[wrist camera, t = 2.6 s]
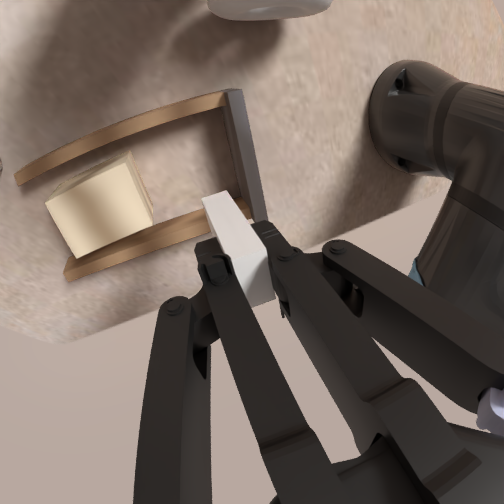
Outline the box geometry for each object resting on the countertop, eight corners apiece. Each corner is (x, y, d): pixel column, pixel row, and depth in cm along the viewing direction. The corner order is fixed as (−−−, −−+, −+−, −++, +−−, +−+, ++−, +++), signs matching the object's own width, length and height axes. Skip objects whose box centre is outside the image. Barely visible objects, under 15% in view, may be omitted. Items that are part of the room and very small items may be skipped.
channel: (229, 88, 25) (241, 89, 21) (254, 203, 32) (268, 221, 29) (25, 165, 22) (7, 180, 19) (73, 266, 29) (65, 291, 26)
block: (130, 149, 26) (125, 162, 22) (152, 203, 29) (152, 225, 25) (60, 184, 25) (44, 203, 21) (85, 233, 28) (76, 258, 24)
